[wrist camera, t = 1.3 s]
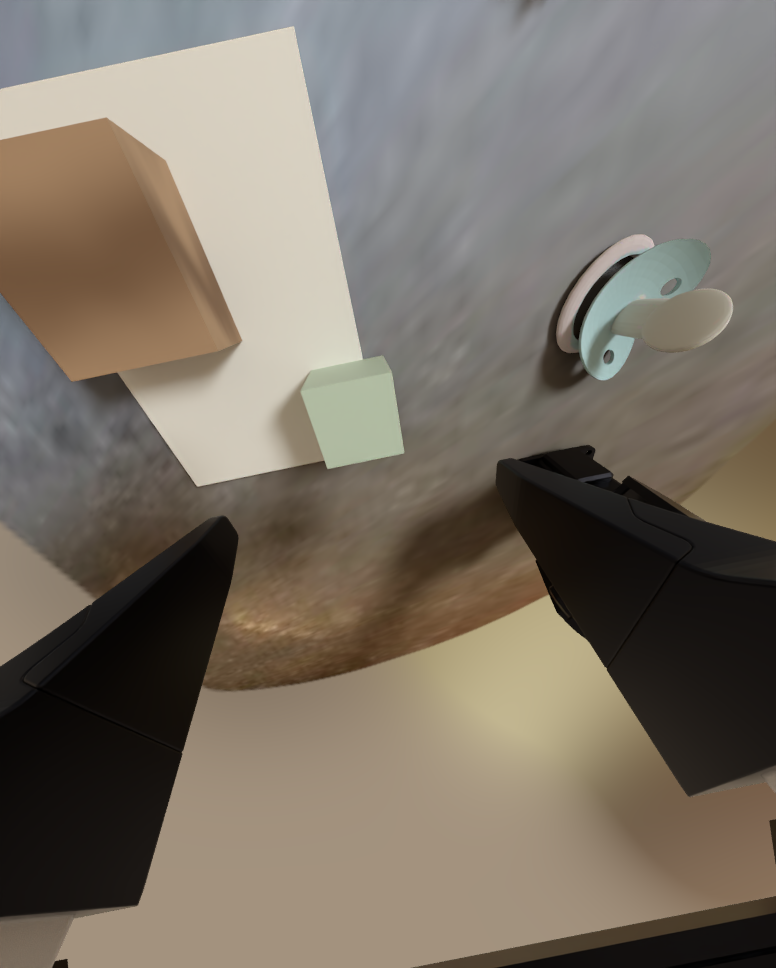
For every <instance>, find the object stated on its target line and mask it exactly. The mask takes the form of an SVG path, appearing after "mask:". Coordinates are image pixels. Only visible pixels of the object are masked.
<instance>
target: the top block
mask: <svg viewBox="0 0 776 968" xmlns="http://www.w3.org/2000/svg"><path fill="white" fill-rule="evenodd" d="M300 392H301V395H302V397H303V400H304V403H305V406H306V409H307V412H308V415H309V417H310V420H311V423H312V426H313V429H314V432H315V435H316V437H317V440H318V443H319V446H320V449H321V452H322V455H323V457H324V460H325V463H326V466H327V469H330V468H335V467H340V466H345V465H350V464H354V463H359V462H364V461H369V460H374V459H379V458H383V457H388V456H393V455H398V454H403V453H404V448H403V441H402V435H401V428H400V422H399V415H398V409H397V403H396V396H395V390H394V383H393V377H392V372H391V370H390V368H389V366H388V364H387V362H386V360H385V359H384V357H383V355H382V356H377V357H373V358H368V359H363V360H358V361H353V362H349V363H344V364H339V365H334V366H329V367H325V368H320V369H315V370H311V371H310V373H309V375H308V377H307V379H306V381H305V383H304V385H303V387H302V389H301V391H300Z"/></svg>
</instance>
